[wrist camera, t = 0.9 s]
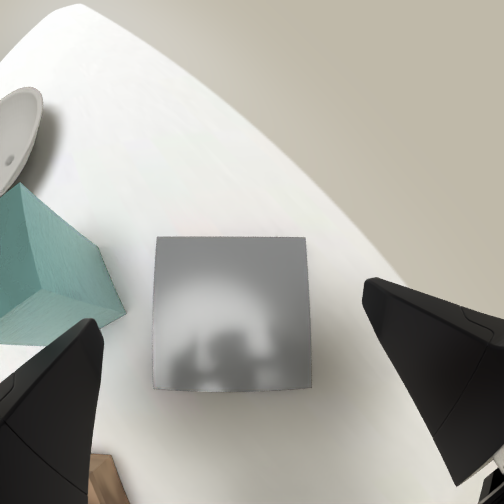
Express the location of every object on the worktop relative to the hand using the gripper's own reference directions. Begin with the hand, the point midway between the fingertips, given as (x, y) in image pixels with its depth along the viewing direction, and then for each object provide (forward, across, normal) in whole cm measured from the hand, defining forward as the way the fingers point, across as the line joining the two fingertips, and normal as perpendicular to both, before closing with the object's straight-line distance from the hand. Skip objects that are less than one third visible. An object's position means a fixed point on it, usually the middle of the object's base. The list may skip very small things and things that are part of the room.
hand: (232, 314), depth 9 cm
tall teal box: (+13, +13, +6) cm, 19 cm away
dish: (+24, +24, -7) cm, 35 cm away
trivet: (+11, 0, +8) cm, 14 cm away
